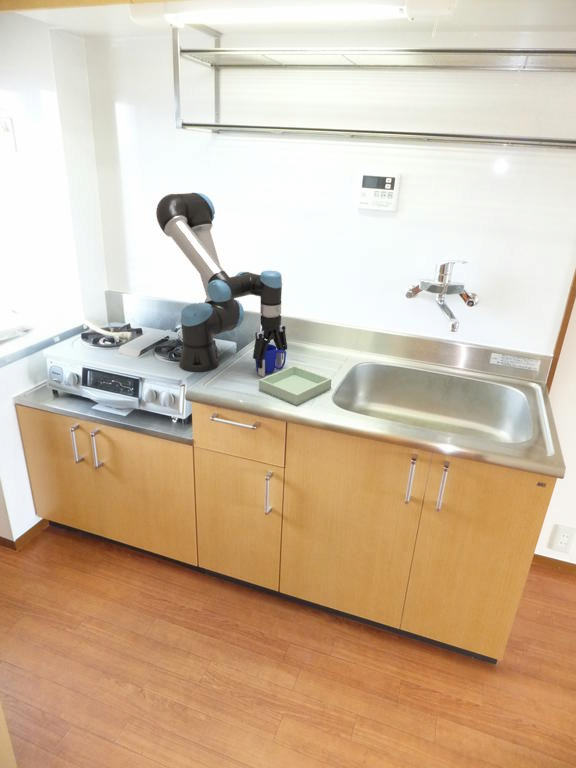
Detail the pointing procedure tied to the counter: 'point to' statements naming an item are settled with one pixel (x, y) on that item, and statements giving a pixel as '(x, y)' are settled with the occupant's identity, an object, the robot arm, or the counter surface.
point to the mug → (271, 359)
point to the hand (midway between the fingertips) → (270, 371)
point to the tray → (295, 385)
